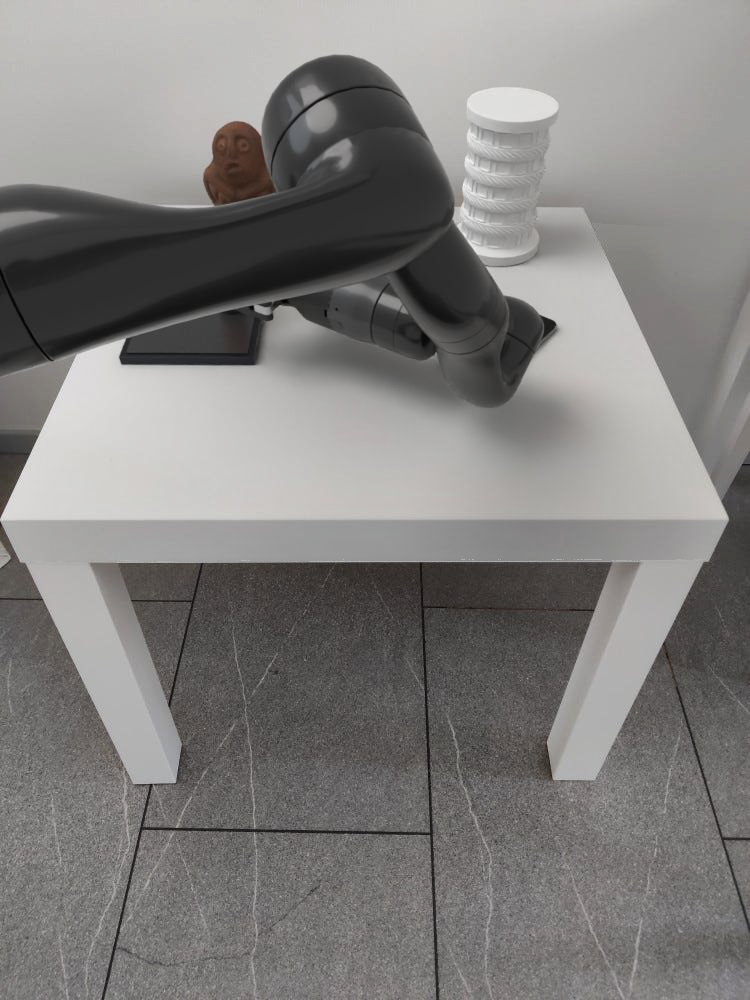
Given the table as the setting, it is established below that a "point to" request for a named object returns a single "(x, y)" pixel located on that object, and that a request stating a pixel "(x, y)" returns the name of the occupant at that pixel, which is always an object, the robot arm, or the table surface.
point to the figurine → (237, 166)
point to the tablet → (197, 342)
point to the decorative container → (505, 172)
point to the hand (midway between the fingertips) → (233, 254)
